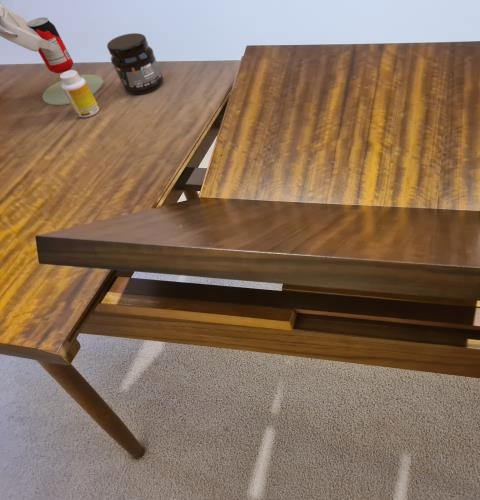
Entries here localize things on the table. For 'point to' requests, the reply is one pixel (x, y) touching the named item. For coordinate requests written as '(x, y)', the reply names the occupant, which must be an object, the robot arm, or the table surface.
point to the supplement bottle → (79, 94)
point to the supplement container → (135, 63)
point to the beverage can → (47, 31)
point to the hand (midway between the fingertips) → (51, 44)
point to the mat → (58, 97)
